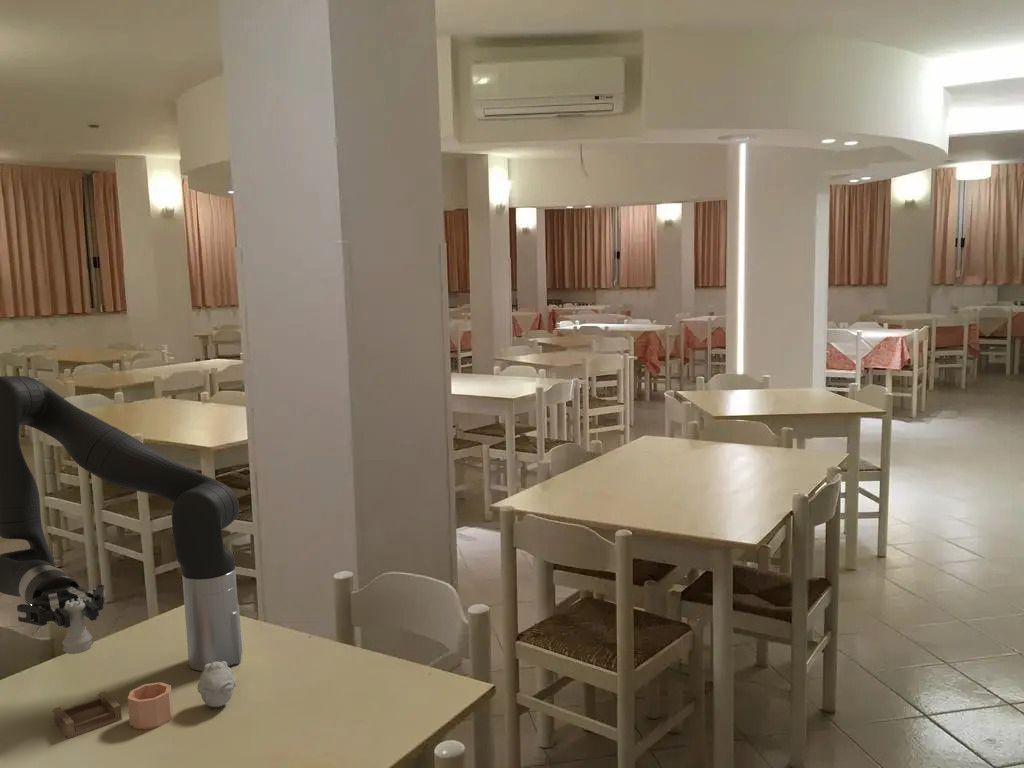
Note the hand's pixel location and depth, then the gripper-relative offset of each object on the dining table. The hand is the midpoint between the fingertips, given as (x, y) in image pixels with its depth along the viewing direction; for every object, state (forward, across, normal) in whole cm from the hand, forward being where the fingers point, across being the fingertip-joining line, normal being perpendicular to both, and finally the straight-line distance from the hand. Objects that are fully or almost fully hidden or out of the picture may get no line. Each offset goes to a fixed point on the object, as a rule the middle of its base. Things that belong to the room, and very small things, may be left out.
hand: (80, 617), depth 133 cm
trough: (-1, 0, +18) cm, 18 cm away
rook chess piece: (-3, 0, +6) cm, 7 cm away
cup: (+6, +8, +18) cm, 20 cm away
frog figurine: (+9, +17, +18) cm, 26 cm away
